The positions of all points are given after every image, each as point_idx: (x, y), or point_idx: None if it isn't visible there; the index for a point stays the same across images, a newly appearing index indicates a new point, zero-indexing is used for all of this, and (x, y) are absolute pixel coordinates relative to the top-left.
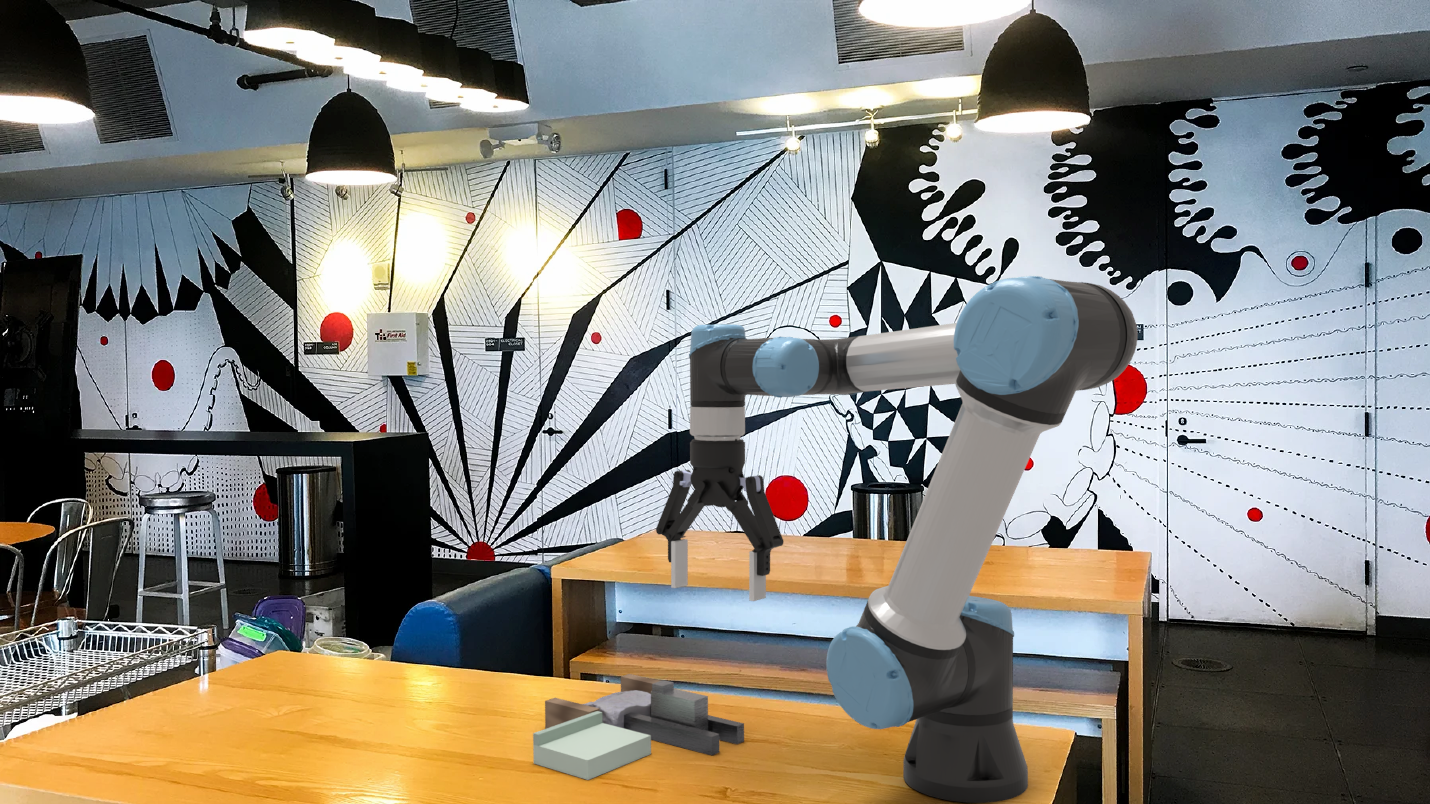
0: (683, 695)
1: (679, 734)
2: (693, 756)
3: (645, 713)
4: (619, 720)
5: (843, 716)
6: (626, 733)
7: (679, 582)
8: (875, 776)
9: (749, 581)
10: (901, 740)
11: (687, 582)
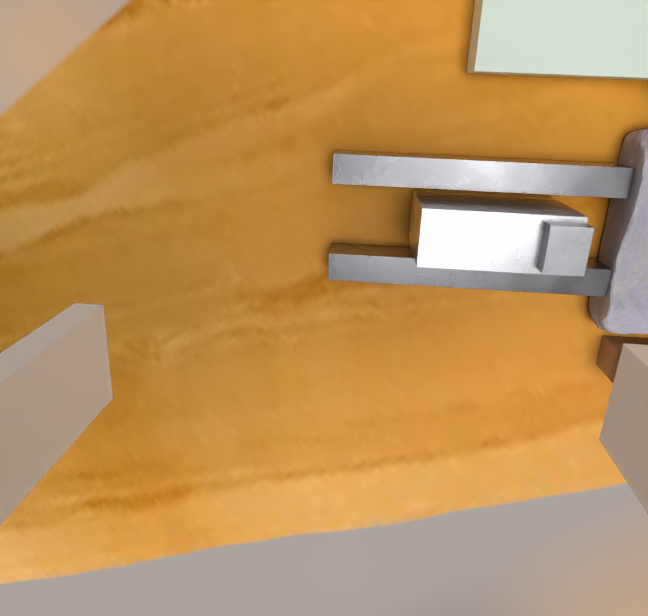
0: (479, 235)
1: (437, 157)
2: (369, 121)
3: (609, 249)
4: (635, 149)
5: (251, 492)
6: (542, 44)
7: (626, 390)
8: (3, 236)
9: (46, 344)
10: (87, 429)
11: (605, 447)
